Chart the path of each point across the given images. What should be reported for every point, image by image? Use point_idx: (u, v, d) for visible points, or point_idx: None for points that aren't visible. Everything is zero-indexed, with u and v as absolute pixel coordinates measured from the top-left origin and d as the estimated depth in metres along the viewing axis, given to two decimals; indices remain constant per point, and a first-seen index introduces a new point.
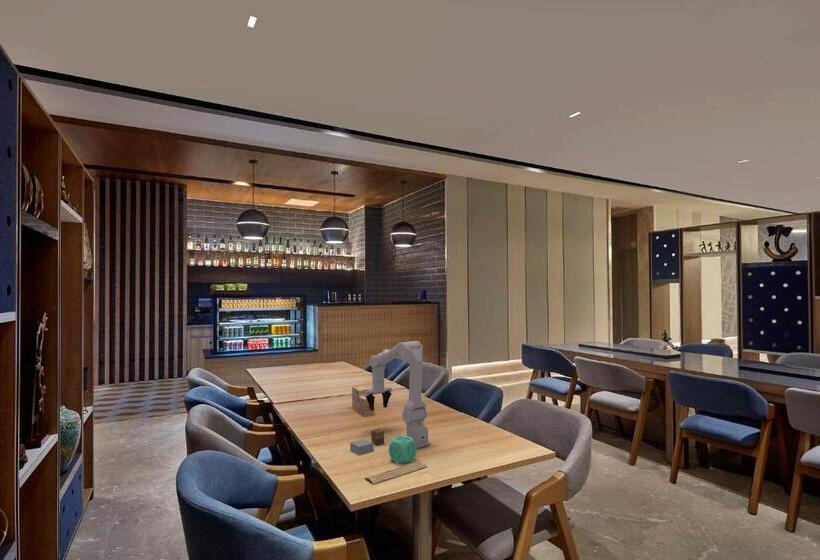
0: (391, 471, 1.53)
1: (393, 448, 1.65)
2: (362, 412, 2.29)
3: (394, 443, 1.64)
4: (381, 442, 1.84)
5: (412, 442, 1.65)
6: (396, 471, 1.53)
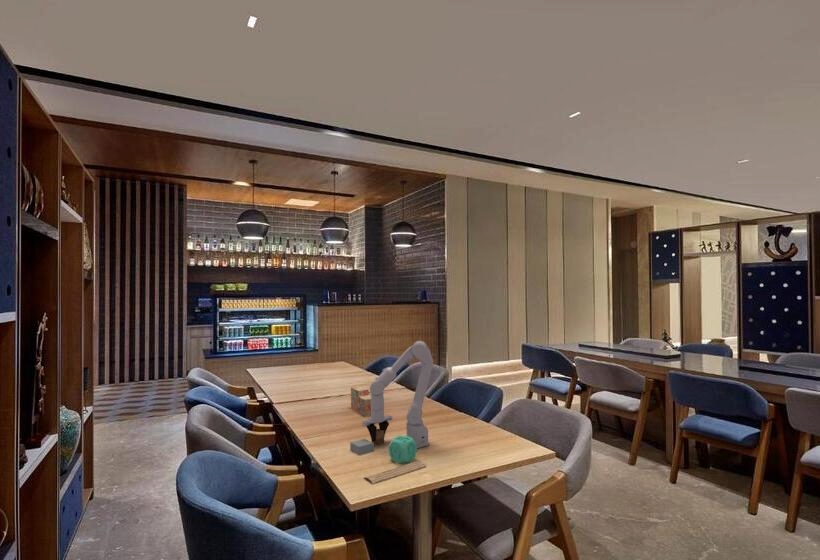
0: (390, 471, 1.53)
1: (393, 448, 1.65)
2: (363, 412, 2.29)
3: (394, 443, 1.64)
4: (381, 442, 1.84)
5: (412, 442, 1.65)
6: (395, 471, 1.53)
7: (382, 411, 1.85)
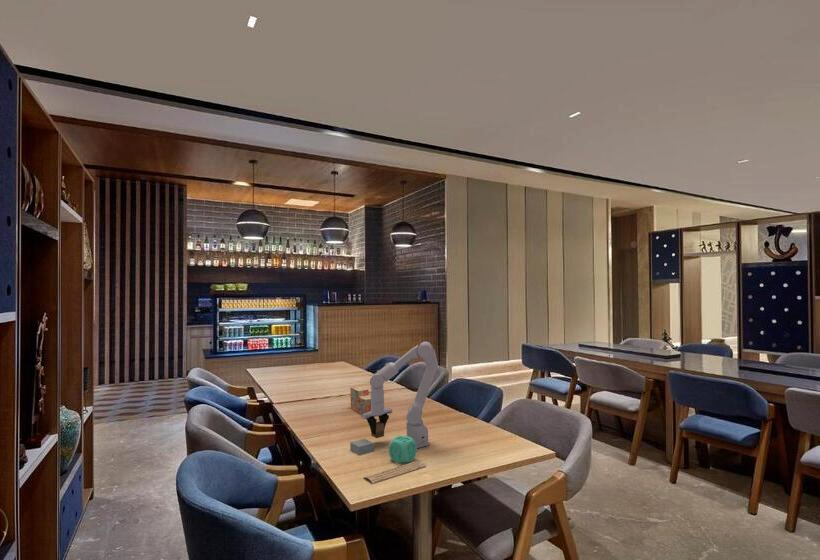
0: (390, 470, 1.53)
1: (393, 448, 1.65)
2: (363, 412, 2.28)
3: (394, 443, 1.64)
4: (381, 435, 1.85)
5: (412, 442, 1.65)
6: (395, 470, 1.53)
7: (382, 404, 1.85)
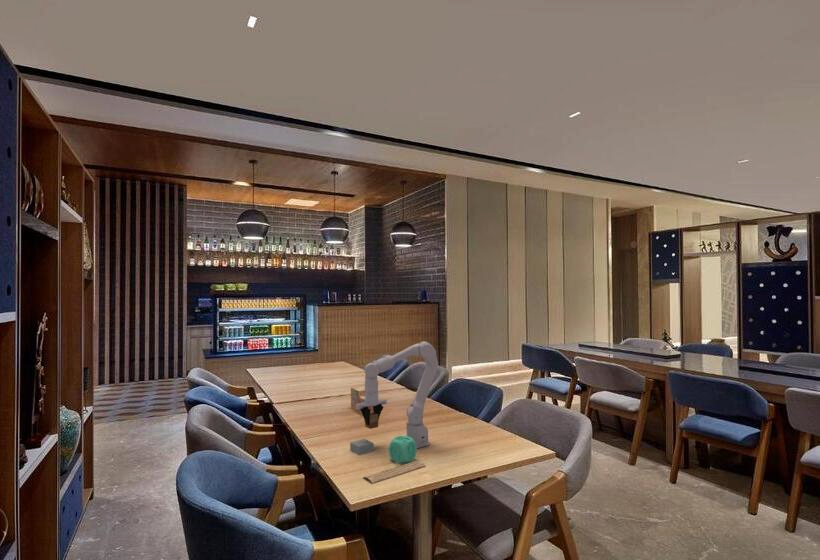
0: (390, 470, 1.54)
1: (393, 448, 1.65)
2: None
3: (394, 443, 1.64)
4: (375, 425, 1.82)
5: (412, 442, 1.65)
6: (395, 470, 1.54)
7: (376, 394, 1.82)
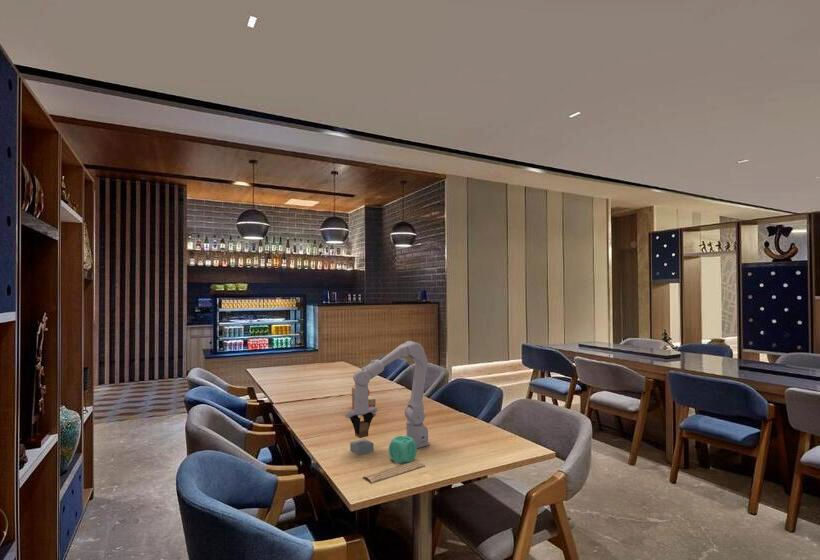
0: (389, 470, 1.54)
1: (393, 448, 1.65)
2: None
3: (394, 443, 1.64)
4: (365, 434, 1.76)
5: (412, 442, 1.65)
6: (394, 470, 1.54)
7: (366, 402, 1.76)
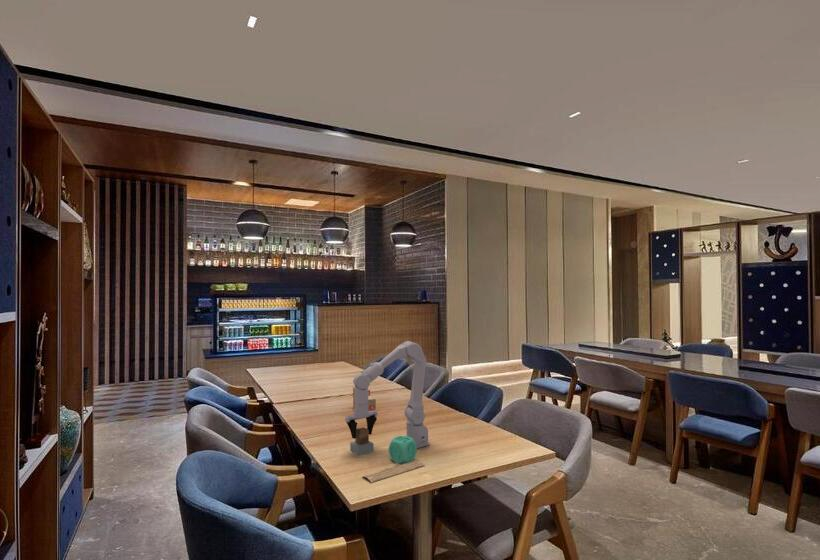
0: (389, 470, 1.54)
1: (393, 448, 1.65)
2: None
3: (394, 443, 1.64)
4: (365, 441, 1.76)
5: (412, 442, 1.65)
6: (393, 470, 1.54)
7: (366, 406, 1.76)
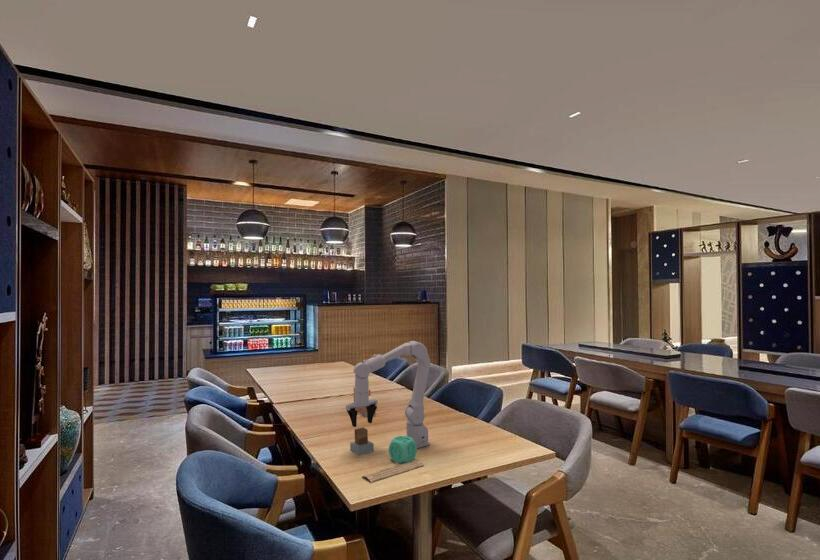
0: (388, 469, 1.54)
1: (393, 448, 1.65)
2: (363, 413, 2.28)
3: (394, 443, 1.64)
4: (364, 441, 1.76)
5: (412, 442, 1.65)
6: (393, 469, 1.54)
7: (366, 394, 1.77)
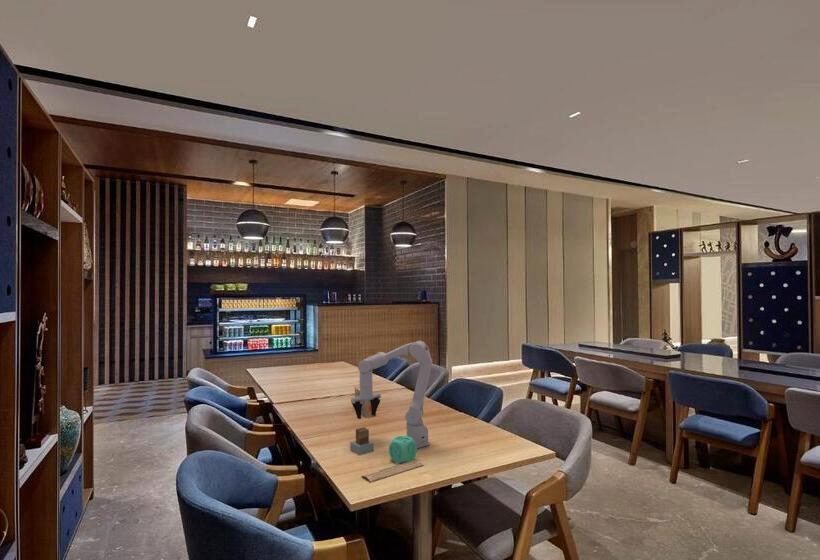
0: (388, 469, 1.55)
1: (393, 448, 1.65)
2: (363, 413, 2.27)
3: (394, 443, 1.64)
4: (365, 441, 1.76)
5: (412, 442, 1.65)
6: (393, 469, 1.55)
7: (370, 389, 1.88)
